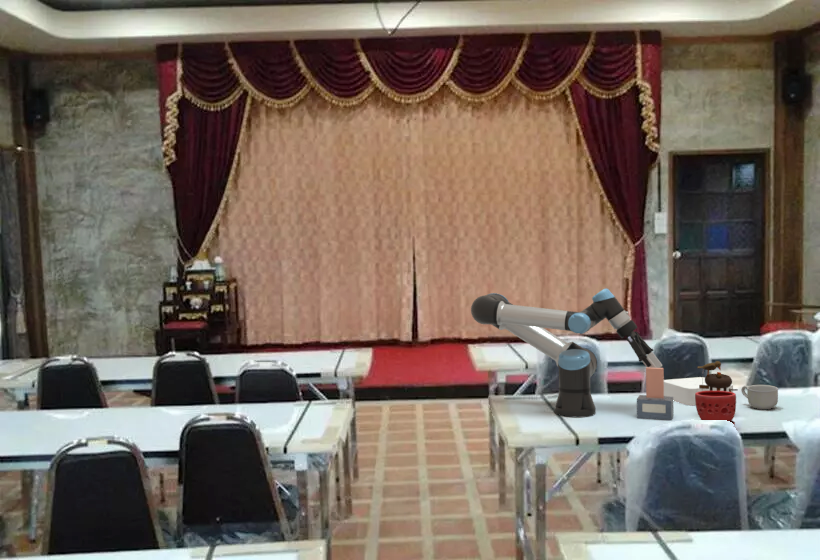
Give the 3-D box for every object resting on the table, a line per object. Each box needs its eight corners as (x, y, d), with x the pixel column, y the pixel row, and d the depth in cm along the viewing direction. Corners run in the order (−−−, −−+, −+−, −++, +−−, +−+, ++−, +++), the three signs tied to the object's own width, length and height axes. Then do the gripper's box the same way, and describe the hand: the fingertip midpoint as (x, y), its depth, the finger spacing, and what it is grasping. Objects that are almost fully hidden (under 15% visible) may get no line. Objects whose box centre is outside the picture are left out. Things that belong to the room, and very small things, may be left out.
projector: (739, 402, 308) (739, 385, 308) (689, 406, 303) (689, 389, 302) (706, 392, 328) (706, 376, 328) (659, 396, 323) (658, 380, 323)
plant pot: (740, 425, 269) (740, 391, 269) (730, 433, 259) (730, 397, 258) (701, 421, 277) (701, 387, 277) (690, 428, 267) (690, 394, 266)
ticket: (646, 411, 286) (645, 368, 285) (647, 410, 288) (646, 367, 287) (663, 412, 284) (663, 368, 283) (664, 411, 285) (663, 368, 284)
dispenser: (636, 418, 284) (636, 398, 284) (639, 413, 292) (639, 394, 291) (671, 420, 279) (671, 400, 279) (673, 415, 287) (673, 395, 287)
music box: (703, 418, 282) (703, 363, 281) (691, 411, 293) (691, 358, 292) (745, 416, 282) (744, 361, 281) (731, 410, 293) (731, 357, 292)
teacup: (784, 409, 293) (784, 388, 292) (762, 412, 289) (762, 390, 288) (755, 402, 306) (755, 382, 305) (734, 405, 302) (734, 384, 301)
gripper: (626, 322, 287) (662, 370, 283) (635, 316, 310) (669, 360, 306) (610, 334, 290) (645, 381, 285) (620, 326, 312) (653, 370, 308)
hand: (657, 370), depth 295 cm, fingers open, 13 cm apart
